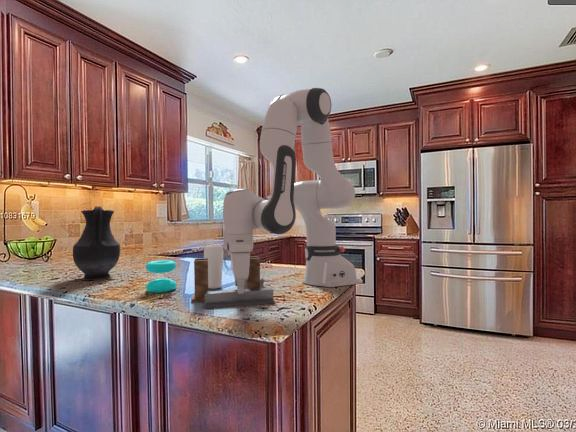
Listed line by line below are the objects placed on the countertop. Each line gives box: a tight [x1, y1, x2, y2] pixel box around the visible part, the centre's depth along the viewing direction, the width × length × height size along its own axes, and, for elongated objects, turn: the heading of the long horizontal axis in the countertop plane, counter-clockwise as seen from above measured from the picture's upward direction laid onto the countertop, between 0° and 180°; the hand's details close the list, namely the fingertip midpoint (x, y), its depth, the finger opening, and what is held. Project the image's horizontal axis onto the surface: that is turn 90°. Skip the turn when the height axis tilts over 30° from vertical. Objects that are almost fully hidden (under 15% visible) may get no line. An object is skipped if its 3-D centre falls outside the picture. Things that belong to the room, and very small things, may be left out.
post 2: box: [246, 255, 261, 289], centre depth 107 cm, size 6×6×12 cm
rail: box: [204, 287, 274, 305], centre depth 99 cm, size 20×3×3 cm, turn 103°
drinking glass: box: [203, 244, 224, 290], centre depth 120 cm, size 7×7×15 cm
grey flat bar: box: [204, 299, 276, 310], centre depth 99 cm, size 20×7×1 cm, turn 103°
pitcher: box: [72, 205, 121, 281], centre depth 139 cm, size 17×21×30 cm
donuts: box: [145, 259, 177, 294], centre depth 117 cm, size 10×10×10 cm
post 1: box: [190, 257, 209, 303], centre depth 104 cm, size 6×6×12 cm
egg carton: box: [244, 277, 265, 289], centre depth 118 cm, size 11×8×4 cm
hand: (239, 289), depth 100 cm, fingers open, 8 cm apart
